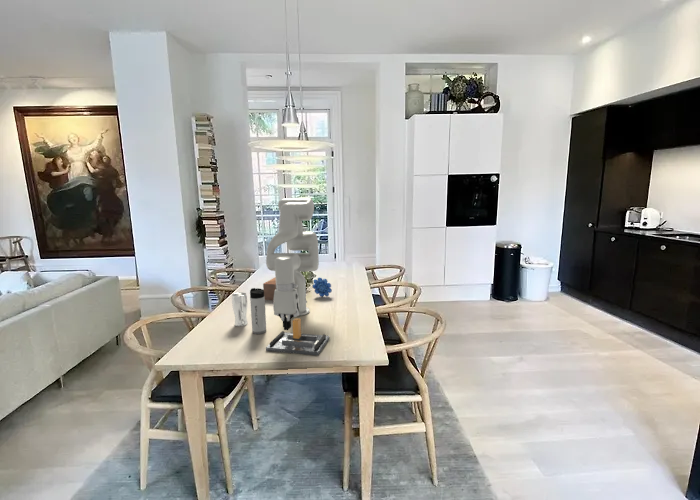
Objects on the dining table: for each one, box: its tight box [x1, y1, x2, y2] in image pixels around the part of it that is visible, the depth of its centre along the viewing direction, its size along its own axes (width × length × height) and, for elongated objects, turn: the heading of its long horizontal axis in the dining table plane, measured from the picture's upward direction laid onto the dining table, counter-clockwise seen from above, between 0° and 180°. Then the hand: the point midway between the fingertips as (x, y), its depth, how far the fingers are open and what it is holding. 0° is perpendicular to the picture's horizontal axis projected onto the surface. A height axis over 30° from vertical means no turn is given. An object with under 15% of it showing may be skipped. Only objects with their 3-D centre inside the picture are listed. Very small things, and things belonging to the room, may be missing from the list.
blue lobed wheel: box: [311, 277, 333, 298], centre depth 217 cm, size 12×7×12 cm, turn 88°
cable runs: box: [269, 330, 327, 350], centre depth 152 cm, size 13×20×1 cm, turn 77°
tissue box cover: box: [262, 277, 276, 301], centre depth 225 cm, size 26×14×10 cm, turn 166°
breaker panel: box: [265, 331, 330, 356], centre depth 152 cm, size 16×22×3 cm
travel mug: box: [249, 287, 267, 335], centre depth 165 cm, size 6×7×20 cm
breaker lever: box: [292, 317, 302, 341], centre depth 152 cm, size 4×3×9 cm
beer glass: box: [231, 291, 248, 327], centre depth 175 cm, size 7×7×15 cm
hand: (287, 328), depth 152 cm, fingers closed
